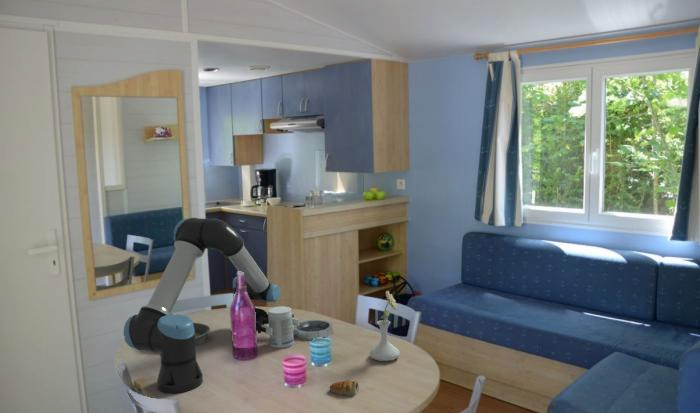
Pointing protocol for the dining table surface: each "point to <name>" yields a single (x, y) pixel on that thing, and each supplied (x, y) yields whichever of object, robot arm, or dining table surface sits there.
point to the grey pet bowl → (313, 329)
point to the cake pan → (200, 332)
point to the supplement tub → (281, 327)
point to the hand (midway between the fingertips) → (285, 327)
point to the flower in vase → (385, 337)
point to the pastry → (345, 388)
